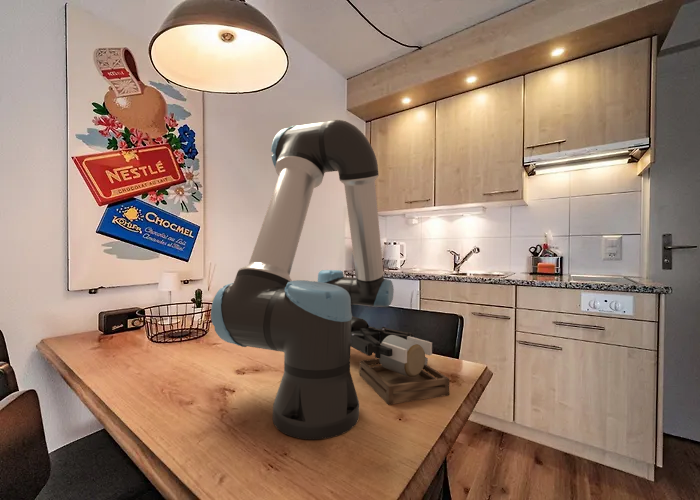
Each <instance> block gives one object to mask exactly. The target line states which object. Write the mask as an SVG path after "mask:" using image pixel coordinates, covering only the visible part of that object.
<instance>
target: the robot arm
mask: <svg viewBox="0 0 700 500" xmlns="http://www.w3.org/2000/svg"><path fill="white" fill-rule="evenodd" d="M270 149H271V150H270V152H271V153H272V155H271V161H272V164H273V166H274V168H275V172H276V174H277V175H278V178H277V181H276V184H275V186H274V190H273V192H272V195H271V197H270V201H269V204H268V207H267V210H266V213H265V216H264V218H263V222H262V224H261V228H260V231H259V233H258V236H257V239H256V242H255V245H254V247H253V251H252V254H251V256H250V260H249V262H248V264H247V265H245V266H243V267H240V268H239V269H238V270H237V273H236V275H235V278H234V281H233V283H232V282H231V283H228V284H225V285H223V287H221V288H219V290H218V291H217V292H216V293H215V295H214V297H213V300H212V303H211V308H210V309H211V310H210V319H211V323H212V325H213V327H214V332H215V333H216V335H217V336H218V337H219V338H220V339H221V340H222V341H224V342H226V343H229V344H233V345H236V346H240V347H242V348H247V347H249V348H257V349H262V350H268V351H275V352H281V353H283V354H284V362H283V363H284V365H283V366H284V367H283V368H284V369H283V375H282V378H281V380H280V384H279V387H278V390H277V393H276V396H275V398H274V400H273V401H274V402H273V406H272V422H273V425H274V427H275V428H276V429H277V430H278V431H279V432H281V433H283V434H285V435H287V436H290V437H292V438H295V439H296V438H297V439H303V440H323V439H330V438H333V437H334V438H335V437H337V436H341V435H343V434H345V433H346V432H348V431H350V430H351V429H353V428H354V427H355V426H356V425H357V423H358V421H359V419H360V401H359V398H358V394H357V391H356V386H355V383H354V380H353V377H352V374H351V348H353V349H354V350H356V351H358V352H361V353H362V354H364V355H366V356H368V357H370V356H373V354H374V359H379V358H380V354H382V355H383V356H386V357H388V358H391V359H394V360H396V361H399V362H402V363H404V364H405V363H407V349H404V348H401V347H398V346H395V345H392V344H389V343H386V342H382V341H383V340H384V339H385V338H386V337H387V336H389V335H396V336H398V337H401V338H404V339H406V340H409V341H412V342H415V343H417V344H419V345H420V346H421V347H422V348H423V349H424V352H425V355H428V356H433V342H431V341H429V340H424V339H421V338H417V337H414V336H415V334H414V333H412V332H411V331H410V332H407V331H401V330H398V329H397V330H396V329H392V328H388V327H385V326H382V327H381V328H376V327H374V326H370V325H369V323H368V321H366V320H365V319H363V318H360V317H357V316H353V312H352V305H359V306H368V307H374V308H377V307H378V308H379V307H383V308H384V307H385V308H387V307H390V306H391V304H392V302H393V299H394V291H395V290H394V284H393V281H392V280H391V279H388V278H385V277H384V267H383V266H384V264H383V254H382V243H381V233H380V223H379V222H380V221H379V211H378V210H379V209H378V201H377V200H378V199H377V192H376V191H377V190H376V180H377V179H378V177H379V165H378V159H377V156H376V153H375V151H374V149H373V146H372V145H371V143H370V141H369V140H368V138H367V137H366V135H365V133H363V132H362V131H361V129H359V128H358V127H357V126H355V125H354V124H352V123H351V122H348V121H346V120H341V119H331V120H328V121H321V122H314V123H313V122H312V123H307V124H301V125H291V126H289V127H285V128H282V129H281V130H279V131H278V132H277V133H276V134H275V136H274V138H273V140H272V143H271V148H270ZM330 172H338V177H339V181H340V182H341V183H342V184H343V186H344V192H345V200H346V209H347V215H348V224H349V233H350V240H351V247H352V254H353V255H352V256H353V261H354V263H353V264H354V269H355V270H354V272H355V277H348V276H346V277H345V275H344V271H343V270H339V269H338V270H337V269H336V270H335V269H324V270H323V269H322V270H319V271H318V273H317V281H315V280H311V281H310V280H300V279H295V280H292V278H291V276H290V275H291V271H292V268H293V264H294V260H295V257H296V253H297V249H298V246H299V242H300V240H301V235H302V232H303V228H304V226H305V225H304V224H305V221H306V218H307V213H308V209H309V208H310V203H311V199H312V196H313V192H314V189H315V188H316V189H317V188H318V187H320V185H322V182H323V179H324V176H325V174H326V173H330ZM381 343H382V345H381Z"/></svg>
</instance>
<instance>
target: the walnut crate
mask: <svg viewBox="0 0 700 500" xmlns="http://www.w3.org/2000/svg"><path fill="white" fill-rule="evenodd" d="M376 365H377V366H376ZM359 376H360V377H361V378H362V379H363V380H364V381H365V382H366V383H367V385H369V387H371V388H372V389H373V390H374V392H376V393H377V394H378V395H379V397H380V398H381V399H382V400H383V401H384V402H385V403H386V404H388V405H394V404H395V405H396V404H401V403H407V402H413V401H421V400H426V399H433V398H440V397H445V396H446V397H447V396H450V378H449V377H448V376H446V375H444V374H443V373H441V372H439V371H438V370H436V369H434V368H432V367H431V366H429V364H427V365H424V367H423V369H422V371H421V372H420V373H419V374H418V375H417V376H414V377H409V376H405V375H402V374H400V373H397V372H394V371H391V370H389V369H386V368H384V367H383V366H382V365H381V364H380V361H379V358H373V359H372V358H371V359H362V360H359Z"/></svg>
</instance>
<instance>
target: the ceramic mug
mask: <svg viewBox="0 0 700 500" xmlns="http://www.w3.org/2000/svg"><path fill="white" fill-rule="evenodd" d="M382 342H386V343H389V344H392V345H395V346H398V347H401V348H404V349H407V363H405V364H404V363H402V362H399V361H396V360H394V359H391V358H388V357H386V356H383V355H382V354H380V358H378V359H379V361H380V364H379V365H380V366H383V367H384V368H386V369H389V370H391V371H394V372H397V373H400V374H402V375H405V376H409V377H414V376H417V375H418V374H419V373H420V372H421V371H422V370H423V367H424V365H428V362H429V358H428V357H427V356H426V354H425V352H424V349H423V348H422V347H421V346H420V345H419V344H417V343H415V342H412V341H409V340H406V339H404V338H401V337H398V336H396V335H389V336H387V337H386V338H385V339H384V340H383V341H382ZM381 345H382V343H381Z"/></svg>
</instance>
